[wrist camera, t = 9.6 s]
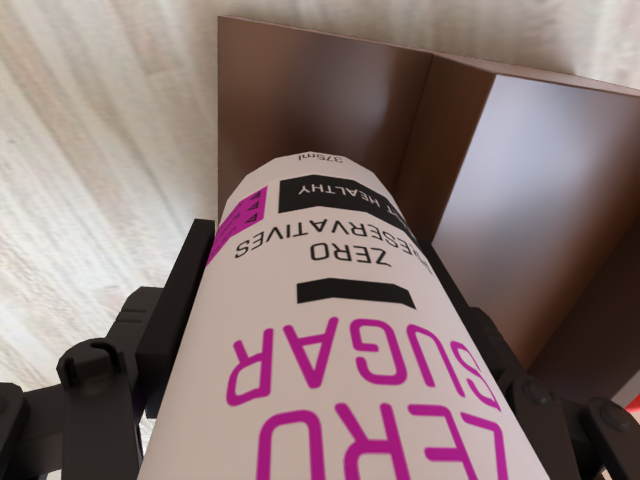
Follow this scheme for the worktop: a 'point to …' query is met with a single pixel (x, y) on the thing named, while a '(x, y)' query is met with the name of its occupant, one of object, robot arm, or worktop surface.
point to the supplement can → (328, 348)
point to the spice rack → (468, 179)
